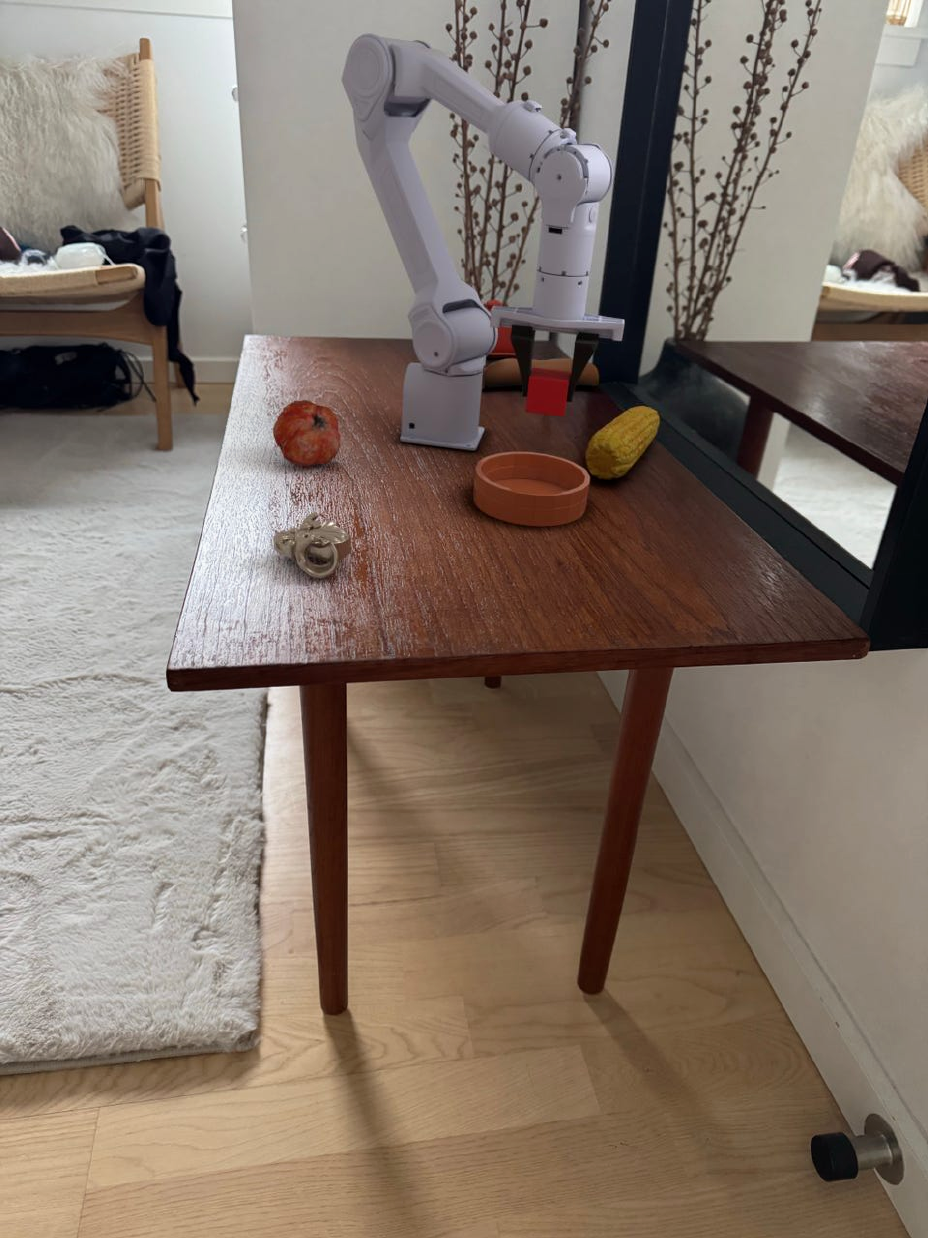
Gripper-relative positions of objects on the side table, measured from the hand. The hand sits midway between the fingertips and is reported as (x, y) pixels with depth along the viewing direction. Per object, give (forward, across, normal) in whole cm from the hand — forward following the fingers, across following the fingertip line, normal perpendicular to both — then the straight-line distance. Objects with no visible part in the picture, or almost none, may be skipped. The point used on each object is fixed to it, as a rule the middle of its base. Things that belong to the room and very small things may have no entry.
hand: (547, 397), depth 102 cm
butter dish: (+8, +12, -50) cm, 52 cm away
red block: (+1, 0, 0) cm, 1 cm away
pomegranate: (+9, +26, +8) cm, 29 cm away
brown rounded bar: (+9, +4, -34) cm, 35 cm away
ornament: (+9, +18, +31) cm, 37 cm away
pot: (+8, 0, +11) cm, 14 cm away
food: (+9, -10, -6) cm, 14 cm away
